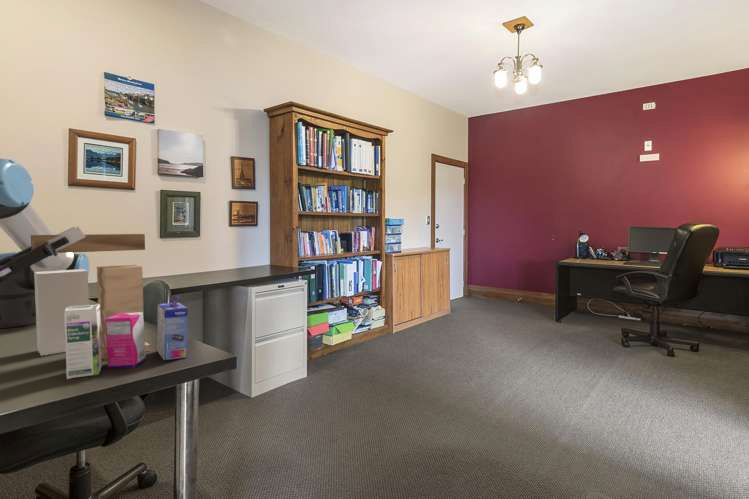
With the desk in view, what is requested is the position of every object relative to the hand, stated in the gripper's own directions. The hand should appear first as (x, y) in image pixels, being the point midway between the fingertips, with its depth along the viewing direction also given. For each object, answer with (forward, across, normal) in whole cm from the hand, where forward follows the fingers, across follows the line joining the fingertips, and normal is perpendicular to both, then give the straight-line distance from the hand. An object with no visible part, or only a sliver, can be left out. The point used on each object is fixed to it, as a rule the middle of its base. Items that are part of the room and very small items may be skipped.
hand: (79, 231), depth 96 cm
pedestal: (-17, +12, +25) cm, 33 cm away
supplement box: (-10, -12, +29) cm, 33 cm away
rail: (0, 0, +5) cm, 5 cm away
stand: (-8, 0, +30) cm, 31 cm away
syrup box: (-17, -12, +25) cm, 33 cm away
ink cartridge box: (-1, -12, +34) cm, 36 cm away
